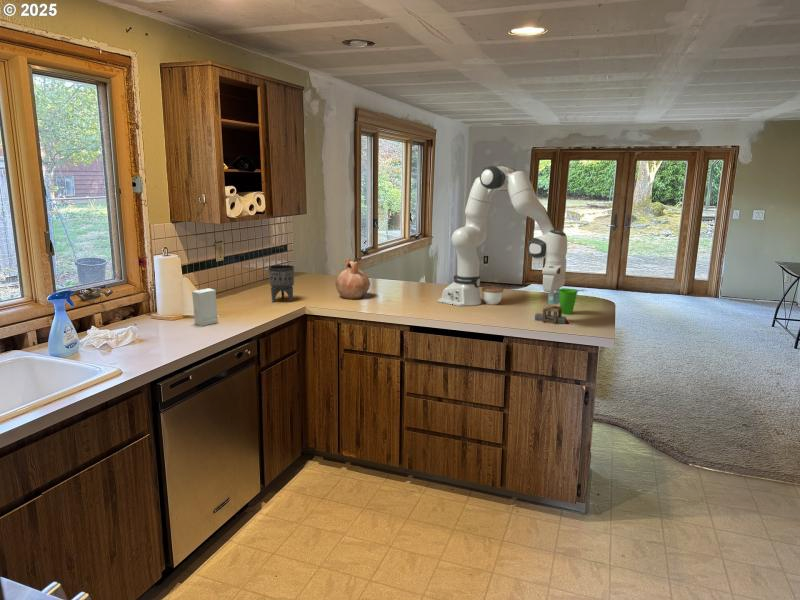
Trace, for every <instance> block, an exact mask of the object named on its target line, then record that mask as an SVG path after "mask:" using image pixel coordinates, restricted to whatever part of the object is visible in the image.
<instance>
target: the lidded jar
mask: <svg viewBox="0 0 800 600" xmlns="http://www.w3.org/2000/svg"><path fill="white" fill-rule="evenodd" d="M481 296H482V297H481V298H482V299H483V301H484V302H485V303H486V304H487V305H493V306H495V305H499V303H500V302H501V301H502V299H503V296H504V288H503V287H498V286H495V285H491V286H483V287H482V288H481Z"/></svg>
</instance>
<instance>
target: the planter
mask: <svg viewBox="0 0 800 600" xmlns="http://www.w3.org/2000/svg"><path fill="white" fill-rule="evenodd" d="M267 269H268V270H267V271H268V280H269V286H270V293H271V294H270V295H271V303H272V304H273V303H276V298H277V295H278V294H279V293H280V294H281V300H285V293H286V294H287V296H288V299H289V303H293V302H292V301H294V285H295V266H294V265H292V264H291V265H290V264H275V265H270V266H268V267H267Z"/></svg>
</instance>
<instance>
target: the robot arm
mask: <svg viewBox="0 0 800 600" xmlns="http://www.w3.org/2000/svg"><path fill="white" fill-rule="evenodd" d="M533 186H534V185H532V182H531V180H530V178H529V176H528V175H527V173H526V172H525V171H522V170H518V171H517V170H515V169H514V168H513V167H512V168H511V167H507V166H506V167H505V166H502V165H501V166H495V165H490V166H489V165H488V166H487V167H484V168H483V169H482V170H481V171H480V175H479V176H478V177H476V178H475V180H474V182H473V184H472V186H471V189H470V192H469V194H468V198H467V203H466V206H465V209H464V210H465V211H464V214H465V225H464V226H461V227H459V228H457V229H456V230H455V231H454V232H453V233H452V234H451V235H452V236H451V243H452V245H453V247H454V249H455V252H456V259H457V260H456V261H457V264H456V265H457V267H456V269H457V270H456V271H457V272H456V273H457V274H456V275H454V276H452V280H453V282H452V283H450V284H448V285H447V286H446V287H445V288H444V289H443V290H442V294H441V297H439V298H437V302H438V303H442V302H443V303H442V304H446V305H452V304H453V306H457V307H458V306H459V307H463V306H466V307H467V306H479V305H481V304H482V300H481V293H480V284H481V276H480V265H481V263H480V258H479V256H478V251H477V247H480V246H481V245H482V244H483V243H485V241H486V240H487V231H486V228H487V227H486V226H487V217H488V214H489V210H490V206H491V203H492V200H493V199H492V198H493V196H494V194H495V192H497V191H499V192H507V193H508V196H509V199H510V202H511V204H512V206H513V208H514V210H515V211H516V212H517V213H519V214H520V215H523V216H526V217H528V218H531V219H532V220H533V221H535V223H536V224H537V225H538V227H539V229H540V231H541V234H542V235H539V236H536V237H532V238H531V239H530V240H529V242H528V244H527V251H528V254H529V256H530V257H531V258H533V259H545V264H544V267H542V271H541V273H542V275H543V276H542V289H543V293H544V292H545V293H549V300H554V292H559V290H560V289H561V288H562V287H564V286H565V285H566V272H567V271H566V270H567V258H566V257H567V253H568V237H567V233H565V232H564V231H562V230H557V229H556V227H555V226H554V223H553V221H552V218H551V217H550V215H549V213H548V211H547V209H546V207H545V206H544V205H543V204H542V202H540V199H539V198H538V197H537V194H536V192H535V190H534V187H533Z"/></svg>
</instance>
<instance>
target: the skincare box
mask: <svg viewBox="0 0 800 600" xmlns="http://www.w3.org/2000/svg"><path fill="white" fill-rule="evenodd" d="M191 293H192V294H191V295H192V304H193V305H192V306H193V307H192V308H193V317H194V324H196V325H197V326H199V327H204V326H208V325H213V324H216V323H219V320H218V305H217V294H216V293H217V292H216V289H213V288H210V287H209V288H208V287H207V288H203V289H197V290H191Z"/></svg>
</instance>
